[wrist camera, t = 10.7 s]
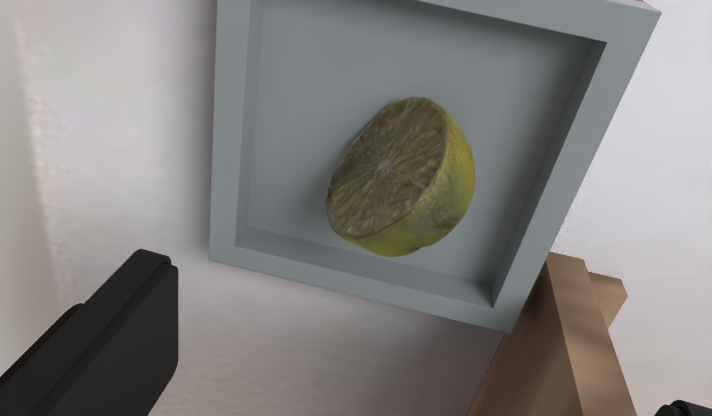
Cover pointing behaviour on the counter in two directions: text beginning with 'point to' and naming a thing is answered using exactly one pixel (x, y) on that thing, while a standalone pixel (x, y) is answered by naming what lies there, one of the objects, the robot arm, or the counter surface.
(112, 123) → the counter surface
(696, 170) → the counter surface
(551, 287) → the walnut board
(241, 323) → the counter surface
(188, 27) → the counter surface
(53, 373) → the robot arm
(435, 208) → the lime
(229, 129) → the slate dish
